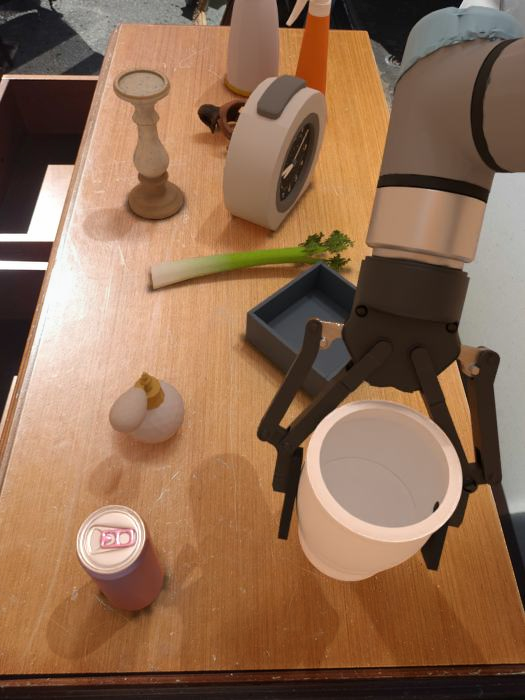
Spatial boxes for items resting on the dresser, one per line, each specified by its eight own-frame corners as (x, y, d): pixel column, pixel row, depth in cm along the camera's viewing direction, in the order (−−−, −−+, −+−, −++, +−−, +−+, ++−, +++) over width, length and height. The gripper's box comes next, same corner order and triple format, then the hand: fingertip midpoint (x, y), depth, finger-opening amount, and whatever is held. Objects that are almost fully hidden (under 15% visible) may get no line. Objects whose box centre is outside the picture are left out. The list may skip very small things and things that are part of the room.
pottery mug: (260, 124, 106) (271, 101, 98) (250, 170, 104) (262, 150, 97) (198, 104, 103) (205, 79, 95) (188, 151, 102) (194, 129, 94)
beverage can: (163, 610, 56) (146, 573, 44) (102, 614, 56) (68, 578, 43) (164, 549, 60) (149, 500, 47) (108, 553, 59) (77, 503, 47)
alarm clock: (263, 246, 87) (272, 133, 70) (221, 229, 88) (221, 114, 72) (318, 171, 98) (337, 59, 82) (280, 158, 100) (291, 45, 83)
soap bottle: (285, 73, 116) (298, -78, 95) (273, 103, 110) (285, -52, 88) (232, 64, 117) (234, -88, 96) (217, 93, 110) (216, -63, 89)
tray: (390, 344, 77) (400, 319, 73) (321, 404, 71) (328, 381, 66) (315, 286, 82) (320, 259, 78) (245, 337, 76) (246, 312, 72)
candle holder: (124, 188, 93) (103, 68, 76) (176, 180, 94) (166, 61, 78) (134, 224, 88) (113, 103, 71) (189, 214, 90) (181, 95, 73)
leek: (153, 271, 85) (345, 242, 87) (157, 310, 82) (356, 279, 84) (145, 246, 79) (350, 217, 82) (149, 287, 76) (362, 255, 78)
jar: (384, 470, 53) (431, 389, 41) (421, 583, 47) (488, 527, 35) (276, 486, 52) (291, 407, 40) (299, 605, 46) (326, 555, 34)
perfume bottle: (186, 396, 71) (179, 341, 61) (186, 469, 65) (179, 420, 55) (126, 399, 70) (109, 343, 60) (121, 472, 64) (102, 424, 54)
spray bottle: (265, 121, 106) (275, -37, 84) (305, 102, 110) (325, -53, 89) (291, 139, 103) (308, -20, 82) (331, 118, 108) (358, -37, 86)
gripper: (560, 286, 42) (491, 551, 46) (260, 235, 44) (217, 496, 47) (612, 291, 35) (524, 606, 39) (249, 229, 36) (199, 539, 40)
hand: (355, 545), depth 43 cm, fingers closed on jar, 11 cm apart
